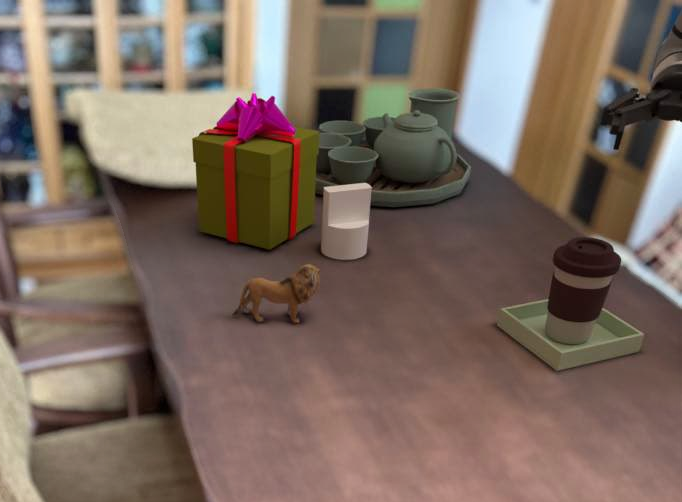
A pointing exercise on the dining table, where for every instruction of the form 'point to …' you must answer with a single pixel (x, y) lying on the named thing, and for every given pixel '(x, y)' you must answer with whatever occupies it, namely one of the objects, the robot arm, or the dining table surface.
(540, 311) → the tray
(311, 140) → the gift box
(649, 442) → the dining table surface
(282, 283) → the lion figurine
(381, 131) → the tea set
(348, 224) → the cylinder with rectangular tab
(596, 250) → the coffee cup
